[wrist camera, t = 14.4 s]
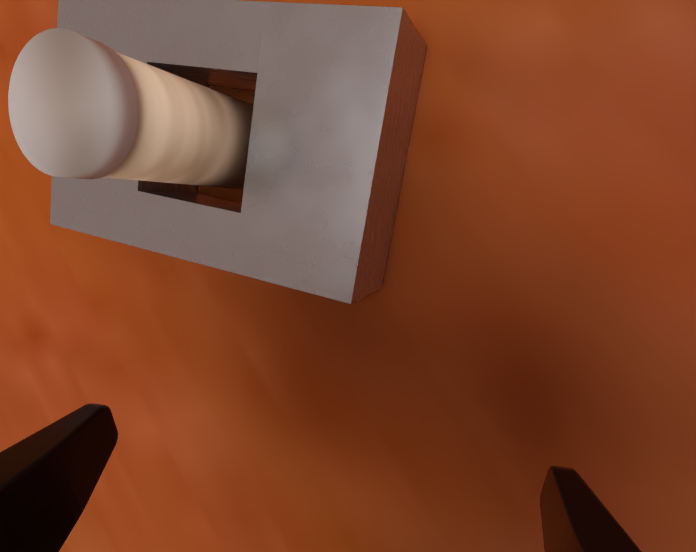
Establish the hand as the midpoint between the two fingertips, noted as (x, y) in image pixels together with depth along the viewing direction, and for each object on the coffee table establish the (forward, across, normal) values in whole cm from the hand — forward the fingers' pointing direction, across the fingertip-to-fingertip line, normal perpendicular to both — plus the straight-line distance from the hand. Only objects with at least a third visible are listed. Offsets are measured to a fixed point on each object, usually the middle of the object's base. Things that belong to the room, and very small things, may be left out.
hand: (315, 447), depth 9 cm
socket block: (+16, +7, -2) cm, 17 cm away
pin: (+16, +7, -2) cm, 17 cm away
